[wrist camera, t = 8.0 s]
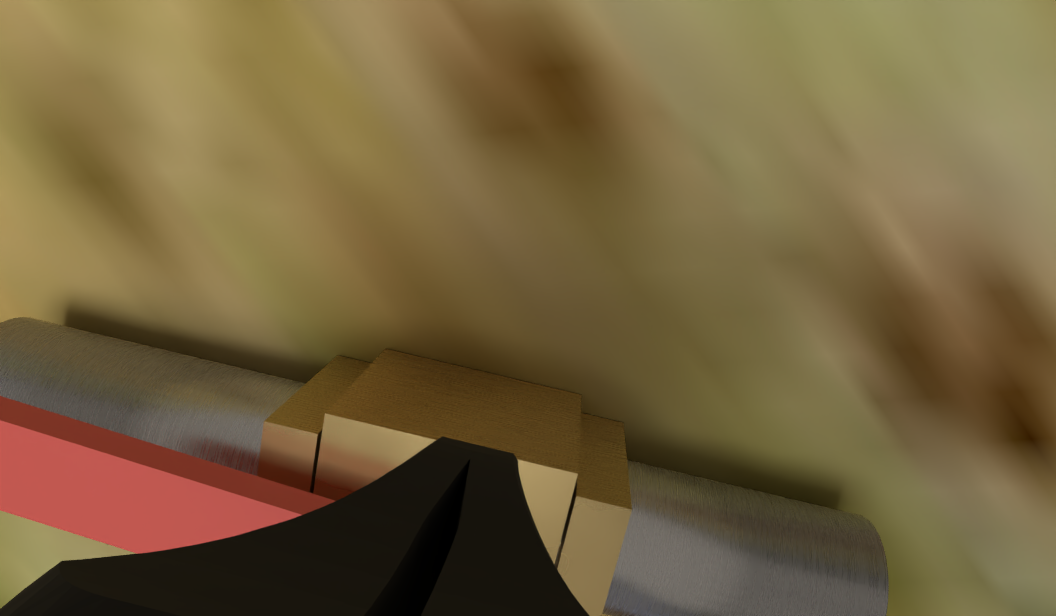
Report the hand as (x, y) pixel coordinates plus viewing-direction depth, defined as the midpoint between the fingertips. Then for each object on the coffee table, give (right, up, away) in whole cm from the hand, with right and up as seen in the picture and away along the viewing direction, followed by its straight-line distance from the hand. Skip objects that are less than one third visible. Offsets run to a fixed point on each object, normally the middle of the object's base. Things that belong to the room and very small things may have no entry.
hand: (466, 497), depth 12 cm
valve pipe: (-1, -2, +11) cm, 12 cm away
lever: (-6, -2, +6) cm, 9 cm away
